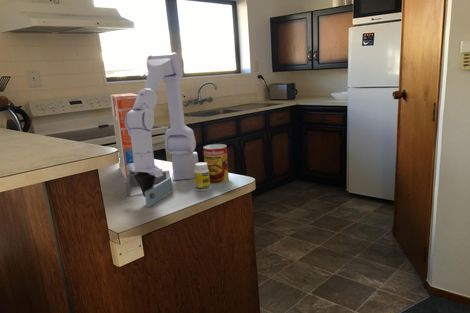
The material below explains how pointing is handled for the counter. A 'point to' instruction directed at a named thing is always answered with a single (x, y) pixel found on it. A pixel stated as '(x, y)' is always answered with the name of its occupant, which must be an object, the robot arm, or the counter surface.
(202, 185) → the supplement bottle
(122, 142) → the pasta box
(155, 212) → the counter surface
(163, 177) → the housing
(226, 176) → the canned food
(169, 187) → the door
